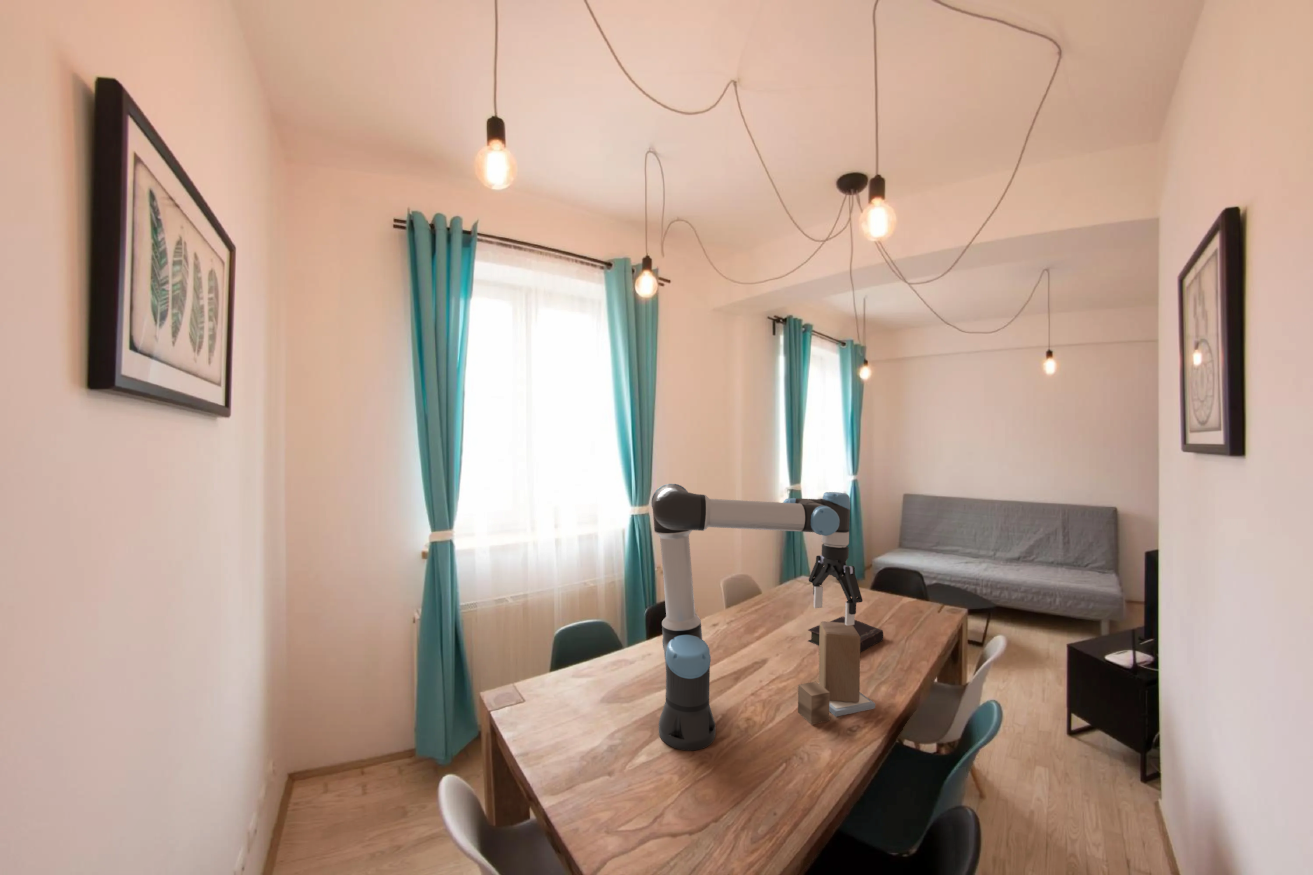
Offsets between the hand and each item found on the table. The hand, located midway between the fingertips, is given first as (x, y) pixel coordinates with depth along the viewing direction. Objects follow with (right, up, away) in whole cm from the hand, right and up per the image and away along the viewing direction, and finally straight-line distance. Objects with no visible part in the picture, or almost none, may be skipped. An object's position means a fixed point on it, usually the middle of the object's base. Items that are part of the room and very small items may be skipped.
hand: (833, 615), depth 138 cm
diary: (+21, -27, +43) cm, 56 cm away
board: (+3, -26, +2) cm, 26 cm away
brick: (-8, -26, -7) cm, 28 cm away
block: (+2, -25, +2) cm, 25 cm away
